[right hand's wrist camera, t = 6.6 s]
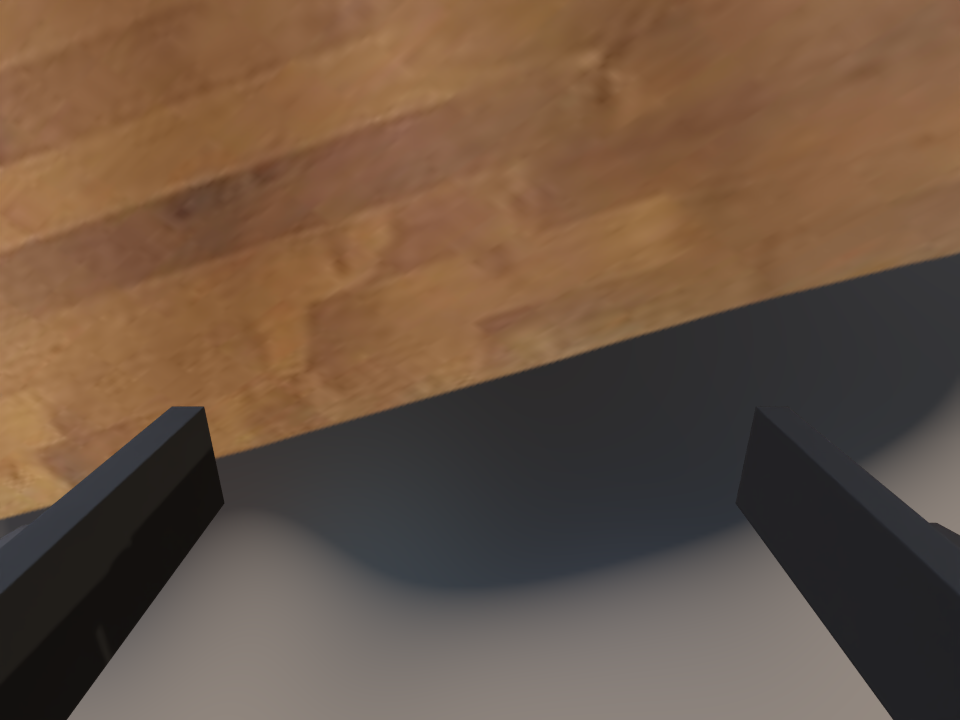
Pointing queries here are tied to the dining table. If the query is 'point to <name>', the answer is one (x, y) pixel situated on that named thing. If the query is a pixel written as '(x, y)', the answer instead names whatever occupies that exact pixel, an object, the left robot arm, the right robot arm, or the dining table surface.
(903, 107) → the dining table surface
